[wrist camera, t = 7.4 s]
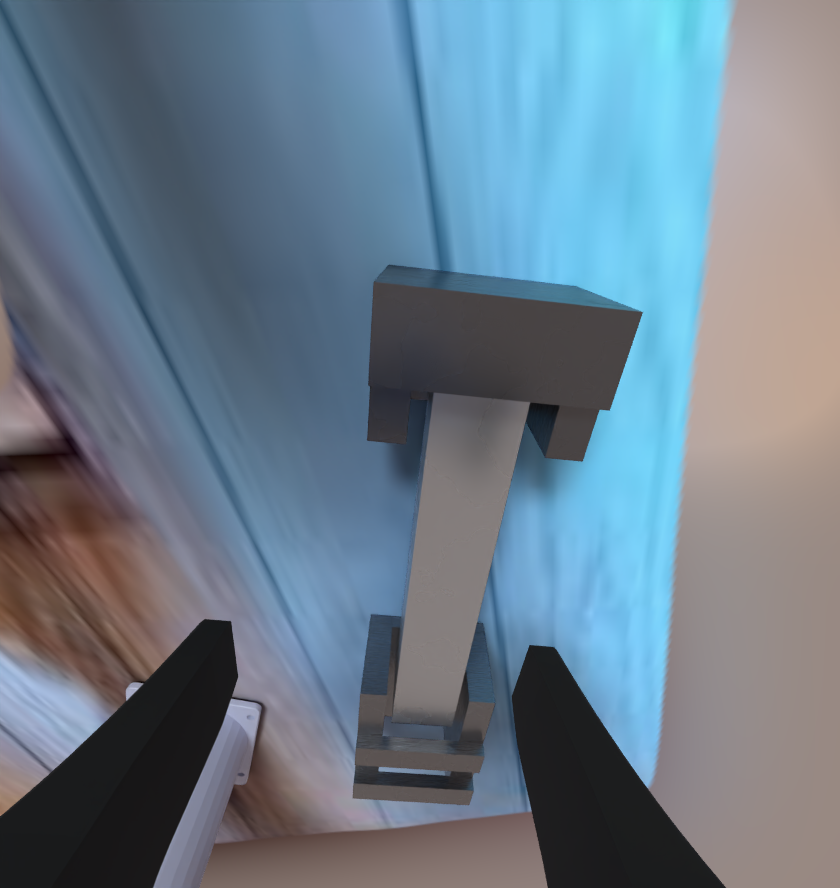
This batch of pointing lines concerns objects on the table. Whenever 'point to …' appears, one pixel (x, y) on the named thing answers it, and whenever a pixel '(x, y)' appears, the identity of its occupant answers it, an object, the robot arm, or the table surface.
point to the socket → (496, 351)
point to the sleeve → (451, 755)
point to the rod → (452, 547)
